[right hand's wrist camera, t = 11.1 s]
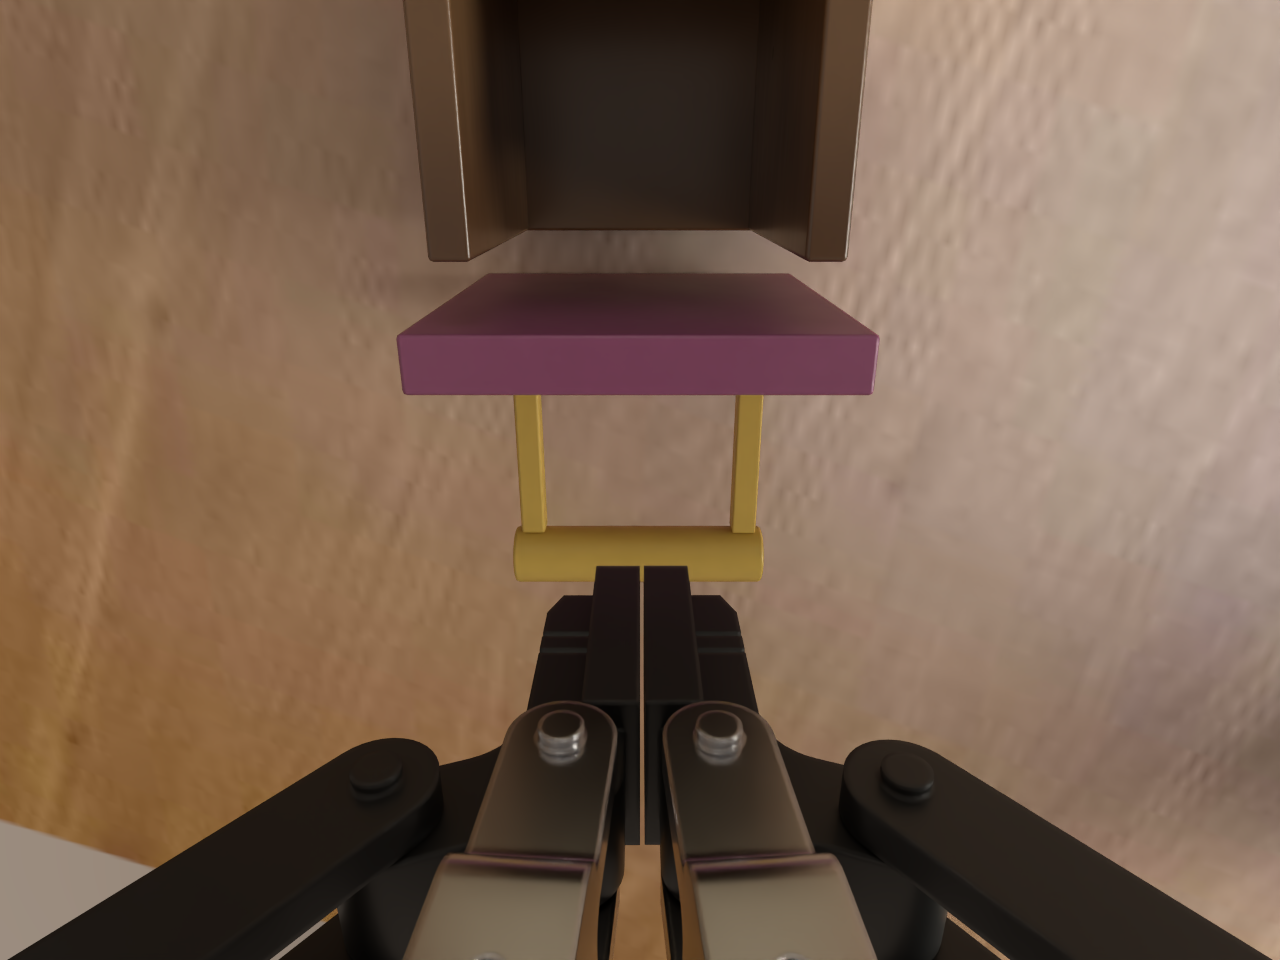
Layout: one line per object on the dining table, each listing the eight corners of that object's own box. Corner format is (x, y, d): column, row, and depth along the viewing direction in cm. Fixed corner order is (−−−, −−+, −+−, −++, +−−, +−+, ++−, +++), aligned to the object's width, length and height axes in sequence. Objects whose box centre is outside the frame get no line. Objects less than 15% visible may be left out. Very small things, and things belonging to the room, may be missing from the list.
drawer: (775, 493, 26) (843, 656, 17) (502, 493, 26) (432, 656, 17) (855, -629, 16) (1103, -1546, 8) (421, -629, 16) (169, -1546, 8)
